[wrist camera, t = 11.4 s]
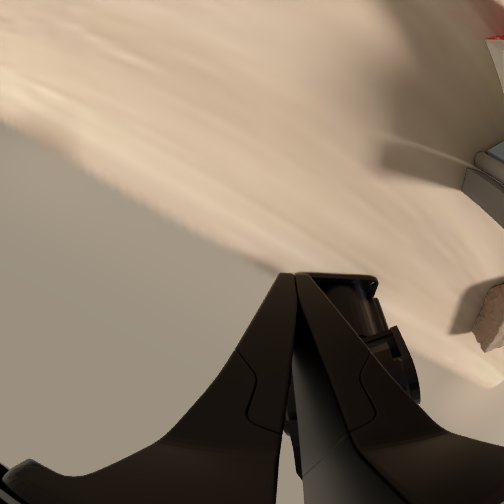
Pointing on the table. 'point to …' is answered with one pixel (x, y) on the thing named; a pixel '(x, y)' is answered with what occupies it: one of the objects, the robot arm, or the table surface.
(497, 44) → the red white patterned box
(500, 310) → the brick
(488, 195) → the door frame
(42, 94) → the table surface
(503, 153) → the door
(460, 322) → the table surface
